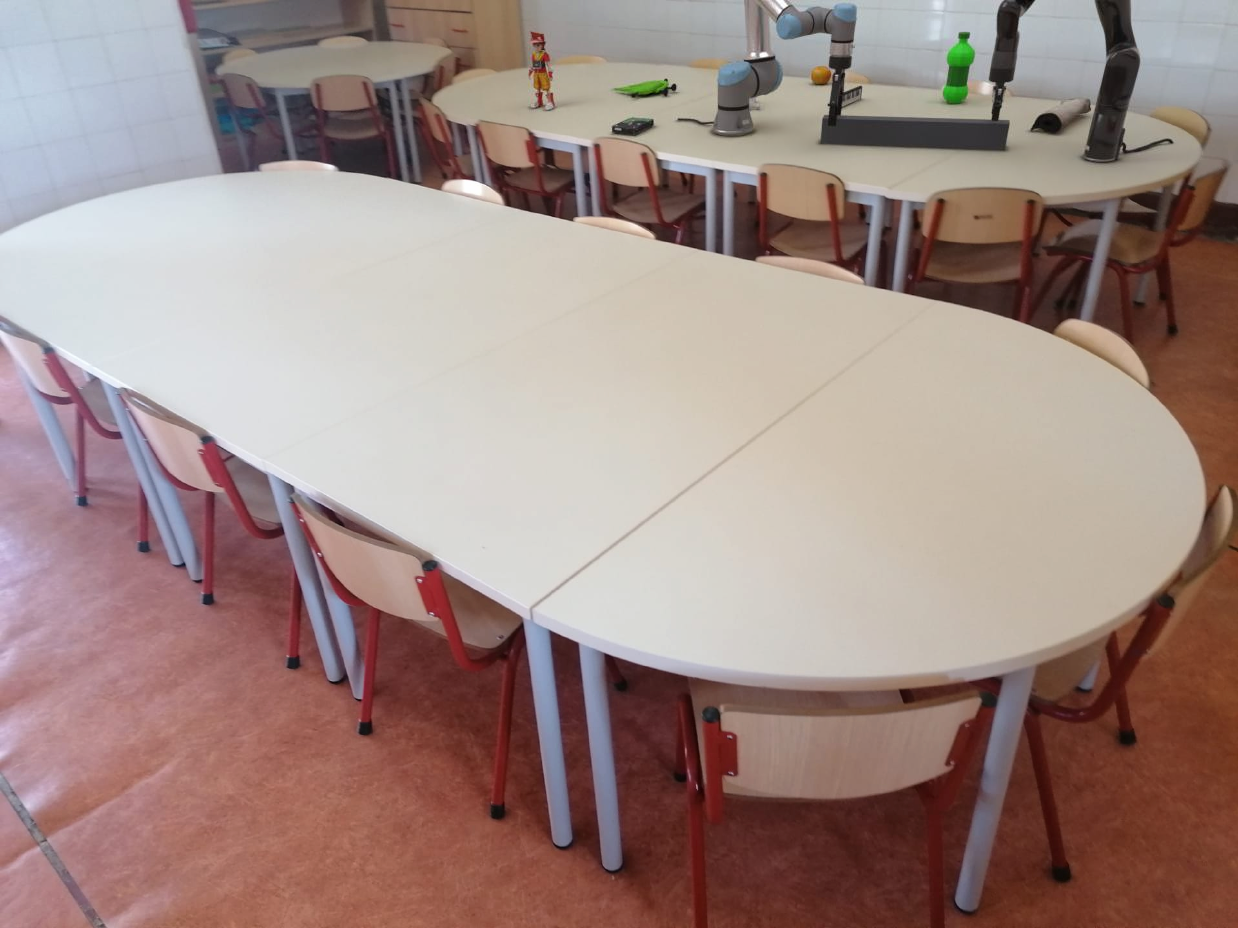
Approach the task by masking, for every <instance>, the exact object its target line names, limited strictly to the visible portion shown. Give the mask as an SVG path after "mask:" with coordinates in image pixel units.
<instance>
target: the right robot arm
mask: <svg viewBox="0 0 1238 928" xmlns="http://www.w3.org/2000/svg"><path fill="white" fill-rule="evenodd" d="M1035 1H1036V0H1002V1H1001V2H1000V4H999V6H998V8H997V13H996V25H995V26H996V29H995V30H996V37H995V42H994V48H993V53H992V56H991V57H992V58H991V61H990V68H989V75H988V81H989V82H991V83H995V84H994V85H993V86H992V95H991V96H992V97H991V99H992V100H991V101H992V106H991V119H990V120H992V121H998V120H1000V114H1001V109H1002V107H1003V103H1004V100H1005V94H1006V92H1007V85H1005V83H1011V82H1013V81H1014V78H1015V72H1016V68H1017V67H1016V66H1017V61H1018V50H1019V44H1020V37H1021V32H1020V31H1019V26H1020V25H1019V24H1020V18H1021V17H1023V16H1024V15H1025V14H1026V13H1027V12H1028V10H1029V9H1030V8H1031V7H1032V5H1033V4H1034V3H1035ZM1094 5H1095V9H1096V12H1097V16H1098V19H1099V22H1100V25H1101V27H1102V30H1103V34H1104V41H1105V42H1104V43H1105V66H1104V69H1103V74H1102V78H1101V82H1100V86H1099V90H1098V94H1097V98H1096V101H1095V106H1094V110H1093V114H1092V118H1091V123H1090V127H1089V131H1088V136H1087V140H1086V144H1084V150H1083V154H1082V158H1083V159H1084V160H1086V161H1090V162H1096V163H1110V162H1114V161H1115V160H1119V156H1120V152H1121V151H1122V152H1123V153H1124V154H1130V153H1131V154H1132V153H1135V152H1140V151H1142V150H1147V149H1149V148H1151V147H1153V146H1156V145H1159V144H1162V143H1166V142H1167V143H1169V144H1171V145H1173V144H1174V141H1173V139H1171V138H1162V139H1159V140H1156V141H1153V142H1150V143H1148V144H1145V145H1143V146H1139V147H1136V148H1134V149H1127V144H1126V143H1125V142H1124V137H1125V133H1126V128H1125V127H1124V125H1125V121H1126V119H1127V118H1126V117H1127V115H1128V110H1129V105H1130V102H1131V98H1132V95H1133V93H1134V90H1135V89H1134V88H1135V85H1136V81H1137V78H1138V76H1139V75H1138V74H1139V71H1140V68H1141V67H1140V66H1141V53H1140V51H1139V48H1138V45H1137V41H1136V38H1135V33H1134V31H1133V30H1134V29H1133V25H1132V0H1094ZM1121 148H1122V149H1121Z"/></svg>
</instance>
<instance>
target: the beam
mask: <svg viewBox="0 0 1238 928" xmlns="http://www.w3.org/2000/svg"><path fill="white" fill-rule="evenodd" d="M828 118H829V114H824V115H823V117H822V118H821V129H820V131H821V132H820V143H819V144H820V145H841V146H843V145H845V146H871V147H894V148H895V147H898V148H919V149H920V148H923V149H924V148H925V149H946V150H947V149H948V150H949V149H951V150H975V151H976V150H978V151H1000V152H1001V151H1002V152H1003V151H1004V152H1005V150H1006V146H1007V141H1008V136H1009V131H1010V124H1011V123H1010V122H1011V121H1010V119H999V120H998V121H992V120H991V119H989V118H988V119H987V118H986V119H985V118H984V119H983V118H952V117H951V118H947V117H918V116H917V117H915V116H914V117H913V116H882V115H881V116H880V115H848V114H847V115H843V114H841V115H837V120H836V126H828Z"/></svg>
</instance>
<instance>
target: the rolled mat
mask: <svg viewBox="0 0 1238 928" xmlns="http://www.w3.org/2000/svg"><path fill="white" fill-rule="evenodd" d="M1091 111H1092V107H1091V99H1090V98H1089V97H1074V98H1068V99H1064V100H1062V101H1061V102H1060V104H1059V105H1056V106H1054V107H1051V108H1050V109H1048V110H1046V111H1045V112H1042V113H1041V114H1039V115H1038V116H1037V117H1036V119H1035V120H1034V123H1033V124H1032V125H1031V128H1030V132H1033V131H1034V130H1042V131H1043V132H1044V133H1048V134H1057V133H1059V132H1060V131H1061V130H1062V129H1063V128H1064V127H1065V126H1066V125H1067V124H1069V122H1071V121H1072V120H1073V119H1074V118H1076V117H1077V116H1079V115H1085V114H1089V112H1091Z"/></svg>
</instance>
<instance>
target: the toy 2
mask: <svg viewBox="0 0 1238 928" xmlns="http://www.w3.org/2000/svg"><path fill="white" fill-rule="evenodd" d="M669 85H670V83H669V79H668V78H664V79H663V80H649V81H644V82H640V83H634V84H629V85H627V86H621V87H613V88H612V89H613V90H616V91H619V92H623V93H627V94H628V93H629V94H631V95H630V96H631V98H632V99H634V98H636V96H637V95H650V94H652V93H654V94H658V93H662V95H663V96H665V97H667V96H668V95H669V90H671V91H672V92H676V91H677V84H676V83H672V84H671V86H669Z"/></svg>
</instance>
